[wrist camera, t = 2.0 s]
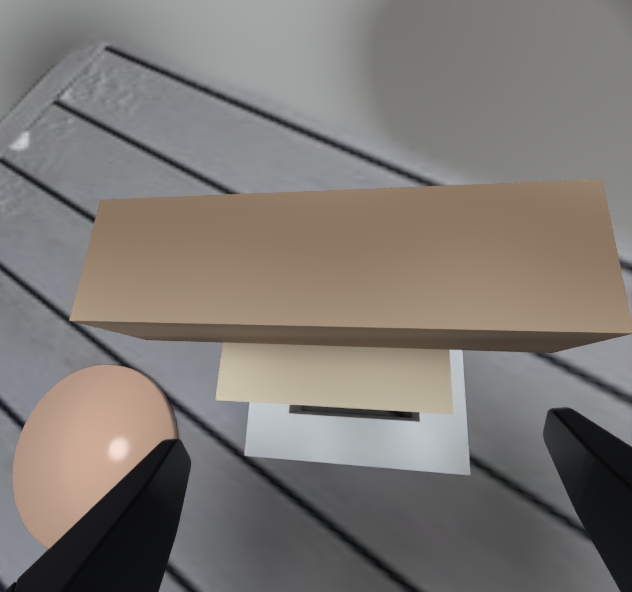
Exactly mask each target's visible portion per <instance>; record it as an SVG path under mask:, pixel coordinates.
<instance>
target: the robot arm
mask: <svg viewBox="0 0 632 592" xmlns="http://www.w3.org/2000/svg"><path fill="white" fill-rule="evenodd" d="M543 437H544V441H545V444H546V446H547V449H548V451H549V453H550V455H551V458H552V460H553V462H554V464H555V467H556V469H557V471H558V473H559V476H560V478H561V480H562V482H563V485H564V487H565V489H566V491H567V494H568V496H569V498H570V500H571V502H572V505H573V507H574V509H575V511H576V513H577V515H578V517H579V518H580V520H581V522H582V524H583V526H584V528H585V529H586V531H587V533H588V535H589V536H590V538H591V540H592V542H593V544H594V545H595V547H596V549H597V551H598V552H599V554H600V556H601V558H602V559H603V561H604V563H605V565H606V567H607V568H608V570H609V572H610V574H611V575H612V577H613V579H614V581H615V582H616V584H617V586H618V588H619V590H620V591H621V592H632V447H631V446H630V445H628V444H627V443H625V442H623V441H622V440H620V439H619V438H617V437H616V436H614V435H612V434H611V433H609V432H608V431H606V430H605V429H603V428H602V427H600V426H598V425H597V424H595V423H594V422H592V421H591V420H589V419H587V418H586V417H584V416H583V415H581V414H580V413H578V412H576V411H575V410H573V409H571V408H568V407H563V408H552V409H550V410H549V411H548V412H547V417H546V421H545V426H544V430H543ZM190 469H191V459H190V456H189V454H188V453H187V451H186V449H185V447H184V445H183V443H182V441H181V440H180V439H178V438H175V439H165V440H163V441H161V442H160V443H159V444H158V445H157V446H156V447H155V448H154V449H153V450H152V451H151V452H150V453H148V454H147V455H146V456H145V457H144V458H143V459H142V460H141V461H140V462H139V463H138V464H137V465H136V466H135V467H134V468H133V469H132V470H131V471H130V472H129V473H128V474H127V475H126V476H124V477H123V478H122V479H121V480H120V481H119V482H118V483H117V484H116V485H115V486H114V487H113V488H112V489H111V490H110V491H109V492H108V493H107V494H106V495H105V496H104V497H103V498H102V499H100V500H99V501H98V502H97V503H96V504H95V505H94V506H93V507H92V508H91V509H90V510H89V511H88V512H87V513H86V514H85V515H84V516H83V517H82V518H81V519H80V520H79V521H78V522H76V523H75V524H74V525H73V526H72V527H71V528H70V529H69V530H68V531H67V532H66V533H65V534H64V535H63V536H62V537H61V538H60V539H59V540H58V541H57V542H56V543H55V544H54V545H53V546H51V547H50V548H49V549H48V550H47V551H46V552H45V553H44V554H43V555H42V556H41V557H40V558H39V559H38V560H37V561H36V562H35V563H34V564H33V565H32V566H31V567H30V568H29V569H27V570H26V571H25V572H24V573H23V574H22V575H21V576H20V577H19V578H18V580H17V582H14V583H13V584H12V585H11V586H10V587H9V588H7V589H6V590H5V591H4V592H159V588H160V585H161V582H162V579H163V576H164V572H165V569H166V566H167V563H168V559H169V556H170V553H171V550H172V546H173V543H174V540H175V536H176V533H177V529H178V525H179V521H180V516H181V511H182V507H183V502H184V497H185V492H186V488H187V483H188V478H189V473H190Z"/></svg>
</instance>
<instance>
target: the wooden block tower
mask: <svg viewBox="0 0 632 592" xmlns="http://www.w3.org/2000/svg"><path fill="white" fill-rule="evenodd" d="M69 321H73V322H77V323H81V324H85V325H89V326H93V327H97V328H101V329H105V330H109V331H113V332H117V333H121V334H125V335H129V336H133V337H137V338H141V339H145V340H162V341H193V342H223V346H222V354H221V361H220V369H219V377H218V385H217V393H216V400H223V401H240V402H256V403H273V404H289V405H306V406H323V407H339V408H356V409H372V410H389V411H405V412H422V413H438V414H453V405H452V387H451V369H450V351H449V350H477V351H508V352H540V353H553V352H558V351H562V350H566V349H570V348H575V347H579V346H583V345H587V344H591V343H596V342H600V341H604V340H608V339H612V338H617V337H621V336H625V335H629V334H632V321H631V316H630V311H629V306H628V302H627V297H626V292H625V287H624V282H623V277H622V272H621V268H620V263H619V258H618V253H617V248H616V243H615V239H614V234H613V229H612V224H611V219H610V214H609V210H608V205H607V200H606V195H605V190H604V185H603V181H602V179H597V180H596V179H595V180H571V181H546V182H522V183H498V184H473V185H449V186H425V187H401V188H376V189H352V190H328V191H304V192H279V193H255V194H231V195H207V196H182V197H158V198H134V199H110V200H100V203H99V207H98V211H97V215H96V218H95V222H94V226H93V230H92V234H91V238H90V242H89V246H88V250H87V254H86V257H85V261H84V265H83V269H82V273H81V277H80V281H79V285H78V289H77V293H76V297H75V300H74V304H73V308H72V312H71V316H70V320H69Z"/></svg>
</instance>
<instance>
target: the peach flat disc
mask: <svg viewBox="0 0 632 592" xmlns="http://www.w3.org/2000/svg"><path fill="white" fill-rule="evenodd" d="M175 438H178V433H177V426H176V420H175V417H174V413H173V410H172V407H171V405H170V403H169V401H168V399H167V397H166V395H165V394H164V392H163V391H162V390H161V388H160V387H159V386H158V385H157V384H156V383H155V382H154V381H153V380H152V379H151V378H149V377H148V376H146V375H145V374H144V373H142V372H139V371H137V370H135V369H132V368H129V367H124V366H116V365H98V366H92V367H88V368H85V369H82V370H79V371H77V372H75V373H73V374H71V375H69V376H68V377H66V378H64V379H63V380H61V381H60V382H59V383H57V384H56V385H55V386H54V387H53V388H52V389H51V390H50V391H48V392H47V393H46V394H45V396H44V397H43V398H42V399H41V400H40V402H39V403H38V404H37V405H36V407H35V408H34V410H33V411H32V413H31V414H30V416H29V418H28V420H27V422H26V424H25V426H24V428H23V430H22V433H21V435H20V438H19V441H18V444H17V448H16V453H15V457H14V465H13V490H14V497H15V501H16V506H17V508H18V511H19V514H20V517H21V518H22V520H23V522H24V524H25V526H26V527H27V529H28V530H29V531H30V533H31V534H32V535H33V536H34V537H35V538H36V539H37V540H38V541H39V542H40V543H42V544H43V545H44V546H46V547H47V548H50V547H51V546H53V545H54V544H55V543H56V542H57V541H58V540H59V539H60V538H61V537H62V536H63V535H64V534H65V533H66V532H67V531H68V530H69V529H70V528H71V527H72V526H73V525H74V524H75V523H76V522H78V521H79V520H80V519H81V518H82V517H83V516H84V515H85V514H86V513H87V512H88V511H89V510H90V509H91V508H92V507H93V506H94V505H95V504H96V503H97V502H98V501H99V500H100V499H102V498H103V497H104V496H105V495H106V494H107V493H108V492H109V491H110V490H111V489H112V488H113V487H114V486H115V485H116V484H117V483H118V482H119V481H120V480H121V479H122V478H123V477H124V476H126V475H127V474H128V473H129V472H130V471H131V470H132V469H133V468H134V467H135V466H136V465H137V464H138V463H139V462H140V461H141V460H142V459H143V458H144V457H145V456H146V455H147V454H148V453H150V452H151V451H152V450H153V449H154V448H155V447H156V446H157V445H158V444H159V443H160V442H161V441H163V440H165V439H175Z"/></svg>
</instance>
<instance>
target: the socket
mask: <svg viewBox="0 0 632 592" xmlns="http://www.w3.org/2000/svg"><path fill="white" fill-rule="evenodd" d="M449 351H450V369H451V387H452V405H453V414H438V413H422V412H412V418H408V417H393V416H377V415H361V414H345V413H329V412H313V411H301V405H289V404H273V403H256V402H250V403H249V413H248V423H247V433H246V443H245V453H244V456H253V457H265V458H276V459H288V460H299V461H311V462H322V463H334V464H345V465H357V466H368V467H380V468H391V469H403V470H414V471H426V472H437V473H449V474H460V475H470V461H469V446H468V430H467V415H466V400H465V385H464V369H463V354H462V350H449Z"/></svg>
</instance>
